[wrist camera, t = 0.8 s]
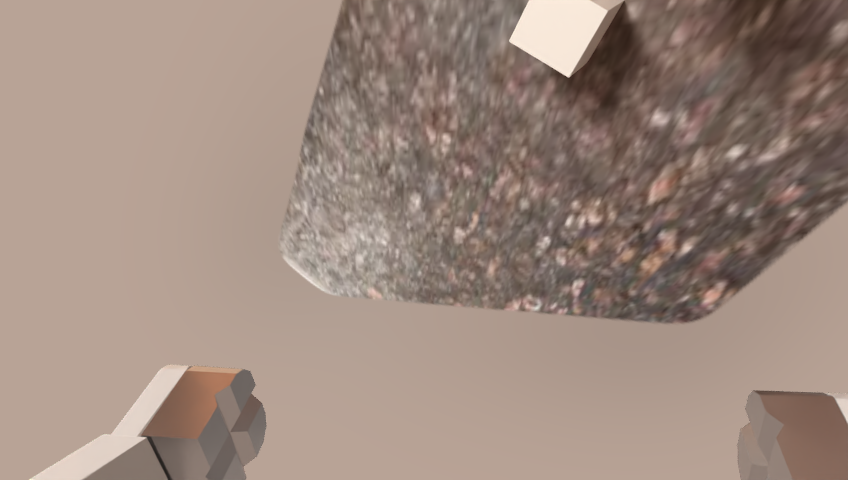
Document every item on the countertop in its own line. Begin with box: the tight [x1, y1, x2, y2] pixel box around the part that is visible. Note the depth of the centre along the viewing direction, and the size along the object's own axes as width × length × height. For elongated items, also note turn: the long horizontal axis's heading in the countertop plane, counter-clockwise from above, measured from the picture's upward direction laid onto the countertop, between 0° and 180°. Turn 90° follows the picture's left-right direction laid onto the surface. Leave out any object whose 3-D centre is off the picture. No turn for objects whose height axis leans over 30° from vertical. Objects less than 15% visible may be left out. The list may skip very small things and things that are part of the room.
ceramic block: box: [509, 0, 624, 78], centre depth 43 cm, size 5×5×5 cm
